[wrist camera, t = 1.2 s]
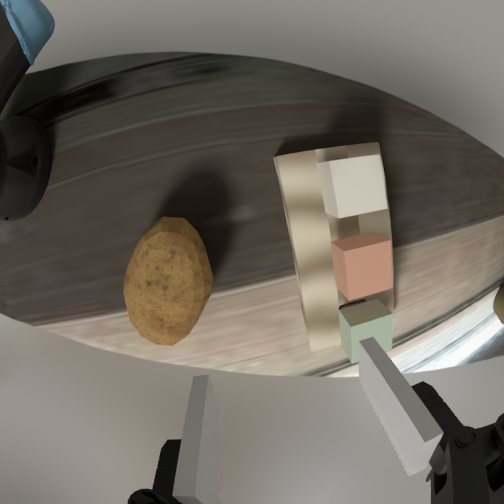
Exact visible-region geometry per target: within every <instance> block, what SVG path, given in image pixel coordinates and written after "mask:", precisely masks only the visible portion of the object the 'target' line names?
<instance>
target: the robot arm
mask: <svg viewBox="0 0 504 504" xmlns="http://www.w3.org/2000/svg"><path fill="white" fill-rule="evenodd" d="M54 26H55V23H54V19H53V16H52V15H51V13H50V12H49V11H48V9H47V8H46V6H45V5H44V4H43V3H42V2H41V1H40V0H0V114H1V112H2V110H3V108H4V107H5V105H6V103H7V101H8V99H9V98H10V96H11V94H12V93H13V91H14V89H15V88H16V86H17V85H18V83H19V82H20V80H21V79H22V77H23V76H24V74H25V73H26V71H27V70H28V68H29V67H30V66H32V65H33V63H34V60H35V58H36V57H37V55H38V54H39V52H40V51H41V49H42V48H43V46H44V45H45V43H46V42H47V41H48V40H49V38H50V37H51V35H52V33H53V31H54ZM49 171H50V146H49V140H48V137H47V134H46V132H45V130H44V128H43V126H42V125H41V124H40V123H39V122H38V121H37V120H35V119H33V118H30V117H25V116H14V117H11V118H8V119H5V120H1V121H0V220H4V221H13V220H17V219H20V218H23V217H25V216H27V215H29V214H30V213H31V212H32V211H33V210H34V209H35V208H36V206H37V205H38V203H39V202H40V200H41V198H42V196H43V193H44V191H45V188H46V185H47V181H48V177H49ZM359 382H360V384H361V386H362V388H363V389H364V391H365V393H366V395H367V397H368V399H369V400H370V402H371V404H372V406H373V408H374V410H375V412H376V414H377V416H378V417H379V419H380V421H381V423H382V425H383V427H384V429H385V431H386V433H387V435H388V436H389V438H390V440H391V442H392V444H393V446H394V448H395V450H396V452H397V454H398V456H399V458H400V460H401V462H402V464H403V466H404V468H405V470H406V472H407V474H408V476H411V475H413V474H415V473H417V472H419V471H421V470H423V469H425V468H426V466H427V465H428V463H430V465H431V467H432V470H431V471H430V473H429V474H428V476H427V479H426V482H428V481H429V480H430V478H431V504H504V413H503V414H502V415H501V416H499V417H498V419H497V421H496V423H493V424H491V425H488V426H485V427H482V428H477V429H474V428H473V427H469V426H464V425H463V424H462V423H461V422H460V421H459V420H458V418H457V417H456V416H455V415H454V413H453V412H452V411H451V409H450V408H449V407H448V406H447V404H446V403H445V402H443V399H442V398H441V397H440V396H439V395H438V393H437V392H436V390H435V389H434V388H433V387H432V386H431V385H429V384H427V383H425V382H423V381H422V382H420V383H418V384H416V385H414V386H410V385H409V383H408V382H407V380H406V379H405V378H404V376H403V375H402V374H401V372H400V371H399V370H398V368H397V367H396V366H395V364H394V363H393V362H392V360H391V359H390V358H389V357H388V355H387V354H386V353H385V351H384V350H383V349H382V347H381V346H380V345H379V344H378V342H377V341H376V340H375V338H374V337H370V338H367V339H364V340H360V341H359ZM223 425H224V410H223V408H222V405H221V403H220V401H219V398H218V396H217V394H216V391H215V389H214V387H213V384H212V382H211V379H210V377H209V375H203V376H195V377H193V382H192V387H191V392H190V397H189V402H188V408H187V413H186V418H185V424H184V429H183V435H182V439H180V440H178V439H177V440H167V441H166V443H165V444H164V446H163V447H162V448H161V452H160V457H159V461H158V465H157V466H158V468H157V470H156V475H155V479H154V484H153V489H152V490H151V489H140V490H137V491H135V492H134V493H133V494H132V495H131V496H130V498H129V499H128V504H221V483H222V452H223Z"/></svg>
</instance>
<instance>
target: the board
mask: <svg viewBox="0 0 504 504" xmlns="http://www.w3.org/2000/svg"><path fill="white" fill-rule="evenodd" d="M371 155H380V161H381V167H382V173H383V179H384V186H385V193H386V200H387V209H383V210H378V211H373V212H368V213H363V214H358V215H353V216H349V217H344V218H337V217H334V216H332V215H330V214H327V213H325V207H324V201H323V195H322V190H321V184H320V179H319V174H318V169H317V164H316V163H321V162H327V161H333V160H340V159H347V158H355V157H363V156H371ZM274 162H275V167H276V171H277V176H278V181H279V186H280V190H281V195H282V200H283V205H284V210H285V215H286V221H287V226H288V231H289V236H290V242H291V247H292V253H293V258H294V264H295V270H296V275H297V281H298V287H299V293H300V299H301V306H302V312H303V318H304V325H305V332H306V338H307V344H308V346H309V349H310V351H311V352H314V351H318V350H322V349H326V348H329V347H333V346H337V345H340V344H341V334H340V321H339V306H340V305H344V304H348V303H351V302H355V301H358V300H359V302H360V301H364V302H368V301H371V300H374V299H379V300H380V301H381V302H382V303H383V304H384V305H385V306H386V307H387V308H388V309H389V310H390V311H391V312H392V313H393V327H394V267H393V248H392V234H391V223H390V213H389V204H388V196H387V189H386V182H385V175H384V169H383V163H382V158H381V152H380V147H379V142H374V143H364V144H355V145H346V146H338V147H331V148H323V149H317V150H310V151H304V152H298V153H292V154H286V155H280V156H276V157H274ZM370 232H374V233H376V234H379V235H381V236H383V237H385V238H387V239H390V240H391V250H392V270H393V288H391V289H388V290H385V291H381V292H378V293H375V294H371V295H368V296H364V297H361V298H357V299H354V300H350V301H348V299H347V298H346V297H345V296H344V295H343V294H342V292H341V291H340V290H339V289H338V288H337V287H336V283H335V274H334V266H333V258H332V250H331V243H330V241H335V240H339V239H344V238H348V237H353V236H357V235H361V234H366V233H370Z"/></svg>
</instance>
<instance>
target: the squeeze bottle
mask: <svg viewBox="0 0 504 504" xmlns="http://www.w3.org/2000/svg"><path fill="white" fill-rule="evenodd" d="M493 308H494V312H495V313H496V315H497V316H498V318H499V319H500V321H501V323H502V324H504V286H503V287H502V288H501V289H500V290H499V292H498V294H497V296H496V298H495V301H494V307H493Z"/></svg>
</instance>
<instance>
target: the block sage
mask: <svg viewBox="0 0 504 504" xmlns="http://www.w3.org/2000/svg"><path fill="white" fill-rule="evenodd" d="M339 321H340V334H341V345H342V347H343V349H344V350H345V352H346V354H347V356H348V357H349V359H350V361H351V363H352V364H353V363H356V362H359V341H360V340H364V339H367V338H370V337H374V338H375V340H376V341H377V342H378V344H379V345H380V346H381V347H382V349H383V350H384V351H385V352H388V351H391V350H392V334H393V313H392V312H391V311H390V310H389V309H388V308H387V307H386V306H385V305H384V304H383V303H382V302H381V301H380V300H379V299H374V300H371V301H368V302H364V301H360V302H357V303H353V304H350V305H346V306H342V307H341V309H339Z"/></svg>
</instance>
